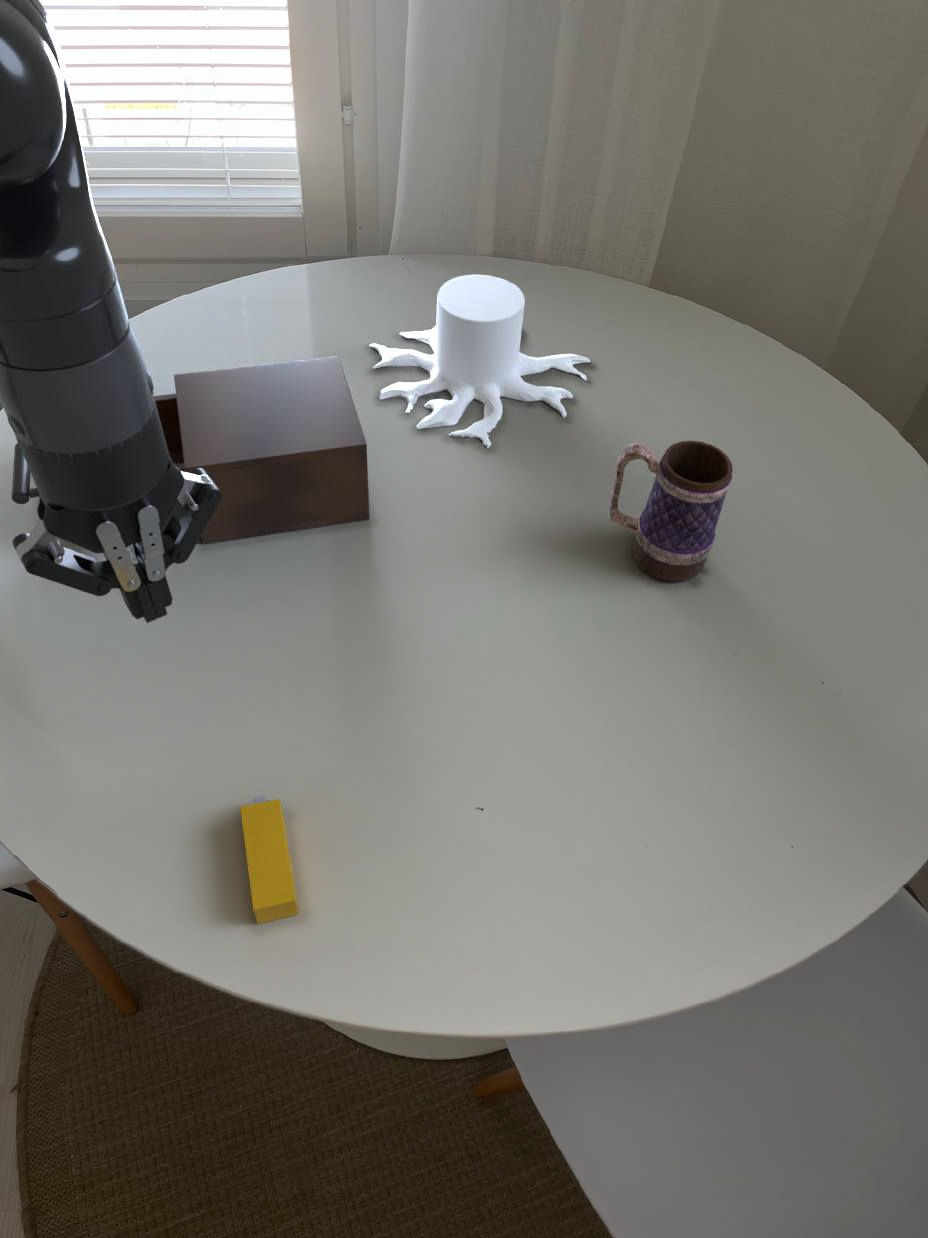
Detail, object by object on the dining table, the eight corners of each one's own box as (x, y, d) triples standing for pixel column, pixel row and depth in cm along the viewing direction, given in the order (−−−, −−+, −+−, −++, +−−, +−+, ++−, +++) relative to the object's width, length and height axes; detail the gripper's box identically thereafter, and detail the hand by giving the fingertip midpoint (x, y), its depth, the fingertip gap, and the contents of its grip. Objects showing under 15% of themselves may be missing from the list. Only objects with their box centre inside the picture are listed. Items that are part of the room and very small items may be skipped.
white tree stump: (336, 353, 105) (331, 278, 97) (512, 297, 114) (519, 225, 107) (442, 465, 93) (445, 389, 86) (628, 392, 102) (645, 318, 95)
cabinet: (203, 544, 84) (184, 468, 77) (191, 450, 92) (173, 374, 85) (369, 519, 87) (366, 444, 80) (343, 431, 96) (338, 355, 89)
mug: (709, 541, 88) (745, 443, 78) (699, 593, 83) (735, 495, 74) (606, 515, 89) (629, 416, 80) (590, 564, 85) (613, 465, 76)
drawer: (27, 558, 81) (-1, 497, 75) (31, 467, 88) (6, 405, 83) (249, 525, 85) (238, 465, 79) (234, 441, 92) (223, 380, 87)
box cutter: (299, 914, 62) (295, 900, 60) (257, 924, 61) (253, 910, 60) (281, 802, 67) (277, 786, 66) (242, 810, 67) (238, 794, 65)
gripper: (170, 335, 54) (217, 542, 67) (-65, 406, 48) (37, 615, 62) (225, 401, 50) (264, 607, 63) (-24, 487, 45) (76, 691, 58)
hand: (151, 611), depth 62 cm, fingers closed
